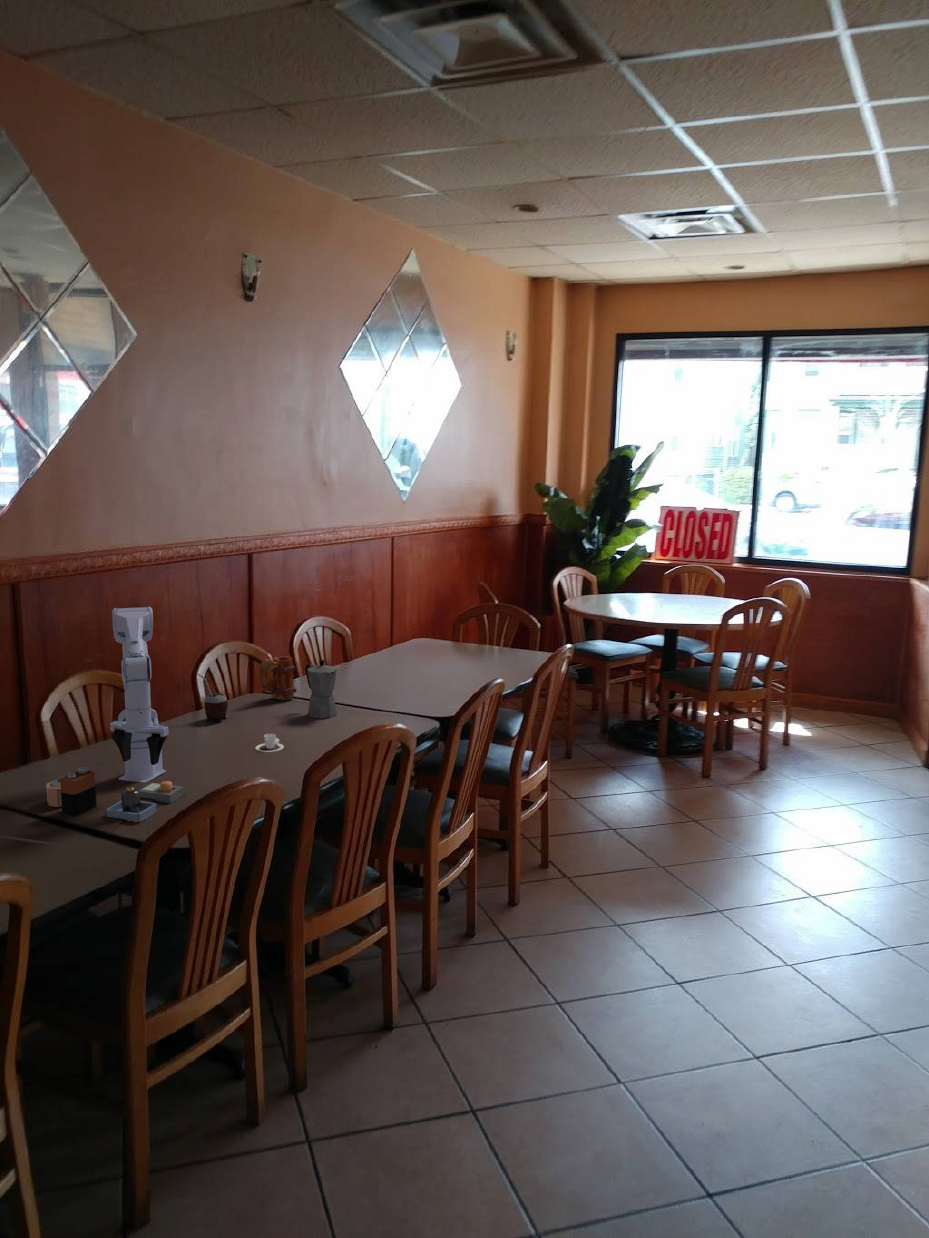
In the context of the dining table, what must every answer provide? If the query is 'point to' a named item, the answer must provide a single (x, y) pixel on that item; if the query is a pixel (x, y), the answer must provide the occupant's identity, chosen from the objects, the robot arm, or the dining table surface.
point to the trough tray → (117, 812)
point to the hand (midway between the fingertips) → (140, 762)
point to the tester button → (166, 786)
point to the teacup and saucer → (270, 743)
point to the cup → (53, 795)
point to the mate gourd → (215, 705)
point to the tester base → (161, 793)
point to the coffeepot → (321, 690)
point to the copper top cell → (131, 800)
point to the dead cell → (57, 782)
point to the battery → (78, 792)
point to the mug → (278, 677)
